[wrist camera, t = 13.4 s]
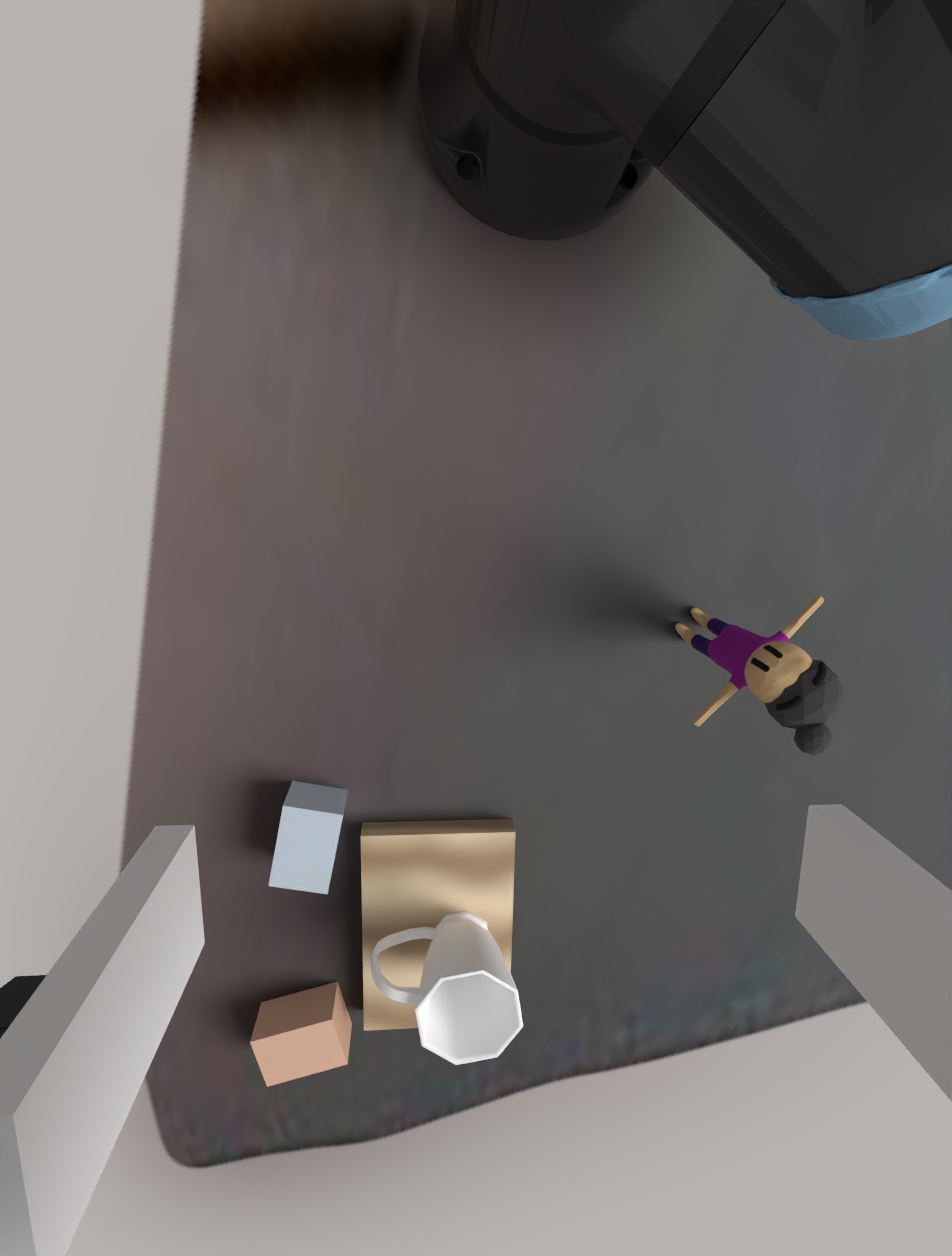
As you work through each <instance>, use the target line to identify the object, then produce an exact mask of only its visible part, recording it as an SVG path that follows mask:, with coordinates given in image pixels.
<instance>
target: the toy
mask: <svg viewBox="0 0 952 1256" xmlns="http://www.w3.org/2000/svg"><path fill="white" fill-rule="evenodd" d="M823 601H824V599H823V598H822V596H819V597H817V598H815V599H814V600H813V601H812V602H811V603H810V604H809V605H808V606H807V607H806V608H805V609H804V610H803V611H802V612H801V613H799V614H798V615H797V616H796V617H795V618H794V619H793V620H792V621H791V622H790V623H789V624H788V625H787V626H786V627H784V628H783V629H782V630H781V631H779V632H778V633H777V634H775V635H773V636H772V637H761V636H759V635H757V634H754V633H752V632H750V631H748V630H745V629H743V628H740V627H738V626H735V625H729V624H727V623H725V622H723V621H721V620H719V619H716V618H712V617H710V616H708V615H706V614H704V613H703V612H702V611H701V610H699V609H698V608H694V607H693V608H692V609H691V614H692V616H693V618H694V619H695V620H696V621H697V622H698V623H699V624H700V625H702V626H703V627H704V628H706V629H708V630H710V631H711V632H712V633H714V634H715V635H717V636H718V637H717V638H715V639H713V640H709V639H707V638H704V637H702V636H701V635H697V634H695V633H694V632H693V631H691V630H690V629H689V628H688V627H686V626H685V625H683V624H681V623H677V624H676V625H675V628H676V631H677V632H678V633H679V634H680V635H681V637H682V638H683V640H684V641H685V642H687V643H688V644H690V645H692V646H693V648H695V649H696V650H698V651H700V652H701V653H703V654H705V655H706V656H708V657H709V658H711V659H712V660H713V661H714V662H715V663H716V664H718V665H719V666H721V667H722V668H724V669H725V670H727V671H728V672H730V673H731V674H733V675H732V677H731V679H730V681H729V683H728V684H727V685H726V686H725V687H724V689H723V690H722V691H721V692H720V693H719V694H718V695H717V696H716V697H715V698H714V699H713V700H712V701H711V702H710V704H709V705H708V706H707V707H706V708H705V709H704V710H703V711H702V712H701V713H700V714H699V715H698V716H697V717H696V718H695V719H694V720H693V724H694V725H696V726H700V725H701V724H702V723H703V722H704V721H705V720H706V719H707V718H708V717H709V716H710V715H711V714H712V713H713V712H714V711H716V709H717V708H718V707H720V706H721V705H722V704H723V703H724V702H725V701H726V700H727V699H729V698H730V697H731V696H732V695H733V694H734V693H735V692H736V691H737V690H740V689H741V688H742V687H744V686H746V685H748V687H749V688H750V690H751V691H752V692H753V693H754V694H755V695H756V696H757V697H758V698H759V699H760V700H762V701H763V702H765V705H766V707H767V710H768V712H769V714H770V715H771V716H772V717H773V718H774V719H775V720H776V721H777V722H778V723H779V724H780V725H781V726H783V727H788V728H794V729H796V732H795V736H794V740H795V742H796V745H797V747H798V748H799V749H800V750H801V751H802V752H803V753H808V754H813V755H815V754H819V753H822V752H823V751H824V750H826V749H827V748H828V747H829V746H830V743H831V739H832V735H831V732H830V730H829V728H828V727H827V726H826V725H825V724H824V723H825V722H826V721H827V720H829V719H830V718H831V717H832V716H833V715H834V714H835V713H836V712H837V711H838V709H839V705H840V701H841V698H842V694H843V689H842V686H841V684H840V681H839V679H838V677H837V675H836V674H835V673H834V672H833V671H832V670H831V669H830V668H829V667H828V666H827V665H826V664H825V663H824V662H823V661H818V660H812V659H811V658H810V657H809V655H808V654H807V653H806V652H805V651H804V650H802V649H801V648H800V647H798V646H796V645H794V644H792V643H789V642H788V640H789V638H790V637H791V636H792V635H793V634H794V633H795V632H796V631H797V629H798V628H799V627H800V626H801V625H802V624H803V623H804V622H805V621H806V620H807V619H808V618H809V616H810V615H811V614H812V613H813V612H814V611H815V610H816V609H817V608H818V607H819V606H820V605H821V604H822V603H823Z"/></svg>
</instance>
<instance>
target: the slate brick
mask: <svg viewBox="0 0 952 1256" xmlns="http://www.w3.org/2000/svg"><path fill="white" fill-rule="evenodd" d="M347 793H348V790H346V789H340V788H334V787H328V786H322V785H316V784H310V783H303V782H297V781H292V783H291V786H290V789H289V791H288V794H287V796H286V799H285V802H284V804H283V808H282V814H281V819H280V825H279V830H278V836H277V842H276V847H275V853H274V858H273V864H272V870H271V875H270V881H269V886H272V887H279V888H286V889H293V890H300V891H307V892H314V893H321V894H328V889H329V884H330V879H331V874H332V869H333V864H334V859H335V854H336V849H337V844H338V839H339V834H340V829H341V824H342V819H343V814H344V808H345V803H346V798H347Z"/></svg>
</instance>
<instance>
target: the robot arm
mask: <svg viewBox="0 0 952 1256" xmlns="http://www.w3.org/2000/svg"><path fill="white" fill-rule="evenodd" d="M418 109H419V118H420V124H421V129H422V133H423V137H424V140H425V144H426V147H427V150H428V152H429V155H430V157H431V160H432V162H433V164H434V166H435V168H436V170H437V172H438V174H439V175H440V177H441V179H442V180H443V182H444V183H445V185H446V186H447V188H448V189H449V190H450V192H451V193H452V194H453V195H454V196H455V198H456V199H457V200H458V201H459V202H460V203H461V204H462V205H463V206H464V207H465V208H466V209H467V210H469V211H470V212H471V213H472V214H473V215H475V216H476V217H477V218H479V219H480V220H482V221H483V222H485V223H486V224H488V225H490V226H492V227H494V228H496V229H498V230H500V231H502V232H505V233H508V234H511V235H514V236H518V237H522V238H527V239H536V240H552V239H561V238H567V237H571V236H575V235H578V234H581V233H583V232H586V231H588V230H590V229H592V228H594V227H596V226H598V225H600V224H601V223H603V222H605V221H606V220H608V219H609V218H610V217H612V216H613V215H614V214H615V213H617V212H618V211H619V210H620V209H621V208H622V207H623V206H624V205H625V204H626V203H627V202H628V201H629V200H630V199H631V198H632V196H633V195H634V194H635V193H636V191H637V190H638V189H639V188H640V186H641V185H642V184H643V182H644V181H645V180H646V178H647V177H648V176H649V174H650V173H651V171H652V169H653V168H654V166H655V168H656V167H657V166H658V167H657V168H656V169H657V170H658V171H659V172H660V173H661V174H662V175H663V176H664V177H665V178H667V179H668V180H669V181H670V182H671V183H672V184H673V185H674V186H675V187H676V188H677V189H678V190H679V191H680V192H681V193H682V194H683V195H684V196H685V197H686V198H688V199H689V200H690V201H691V202H692V203H693V204H694V205H695V206H696V207H697V208H698V209H699V210H700V211H701V212H702V213H703V214H704V215H705V216H706V217H707V218H709V219H710V220H711V221H712V222H713V223H714V224H715V225H716V226H717V227H718V228H719V229H720V230H721V231H722V232H723V233H724V234H725V235H726V236H727V237H728V238H729V239H731V240H732V241H733V242H734V243H735V244H736V245H737V246H738V247H739V248H740V249H741V250H742V251H743V252H744V253H745V254H746V255H747V256H748V257H749V258H750V259H752V260H753V261H754V262H755V263H756V264H757V265H758V266H759V267H760V268H761V269H762V270H763V271H764V272H765V273H766V274H767V275H768V276H769V277H770V282H771V285H772V286H773V288H774V289H775V291H776V292H777V293H778V294H779V295H780V296H781V297H783V298H784V299H788V300H789V301H791V302H792V303H793V304H797V305H800V306H801V307H802V308H803V309H804V310H805V311H807V312H808V313H809V314H810V315H811V316H812V317H813V318H815V319H816V320H817V321H818V322H819V323H820V324H822V325H823V326H824V327H825V328H826V329H828V330H829V331H831V332H833V333H834V334H838V335H840V336H843V337H846V338H849V339H855V340H860V341H874V340H884V339H890V338H894V337H899V336H903V335H906V334H910V333H913V332H916V331H919V330H922V329H924V328H927V327H930V326H932V325H935V324H937V323H939V322H942V321H944V320H946V319H948V318H950V317H952V0H436V2H435V4H434V6H433V8H432V11H431V13H430V16H429V19H428V22H427V25H426V28H425V31H424V35H423V40H422V44H421V50H420V56H419V66H418ZM795 917H796V918H797V919H798V920H799V921H800V923H801V924H802V925H803V926H804V927H805V929H806V930H807V931H808V932H809V933H810V934H811V936H812V937H813V938H814V939H815V940H816V942H817V943H818V944H819V945H820V946H821V947H822V949H823V950H824V951H825V952H826V953H827V955H828V956H829V957H830V958H831V959H832V960H833V962H834V963H835V964H836V965H837V966H838V968H839V969H840V970H841V971H842V972H843V973H844V975H845V976H846V977H847V978H848V979H849V981H850V982H851V983H852V984H853V985H854V986H855V988H856V989H857V990H858V991H859V992H860V994H861V995H862V996H863V997H864V998H865V1000H866V1001H867V1002H868V1003H869V1004H870V1005H871V1006H872V1008H873V1009H874V1010H875V1011H876V1013H877V1014H878V1015H879V1016H880V1017H881V1018H882V1020H883V1021H884V1022H885V1023H886V1024H887V1026H888V1027H889V1028H890V1029H891V1030H892V1031H893V1033H894V1034H895V1035H896V1036H897V1037H898V1038H899V1040H900V1041H901V1042H902V1043H903V1044H904V1046H905V1047H906V1048H907V1049H908V1050H909V1051H910V1053H911V1054H912V1055H913V1056H914V1057H915V1059H916V1060H917V1061H918V1062H919V1063H920V1065H921V1066H922V1067H923V1068H924V1069H925V1070H926V1072H927V1073H928V1074H929V1075H930V1076H931V1078H932V1079H933V1080H934V1081H935V1082H936V1083H937V1085H938V1086H939V1087H940V1088H941V1089H942V1091H943V1092H944V1093H945V1094H946V1095H947V1096H948V1098H949V1099H950V1100H951V1101H952V891H951V890H950V889H949V888H947V887H946V886H945V885H944V884H942V883H941V882H940V881H939V880H937V879H936V878H935V877H933V876H932V875H931V874H930V873H928V872H927V871H926V870H925V869H923V868H922V867H921V866H920V865H918V864H917V863H916V862H914V861H913V860H912V859H911V858H909V857H908V856H907V855H906V854H904V853H903V852H902V851H901V850H899V849H898V848H897V847H895V846H894V845H893V844H892V843H890V842H889V841H888V840H887V839H885V838H884V837H883V836H882V835H880V834H879V833H878V832H876V831H875V830H874V829H873V828H871V827H870V826H869V825H868V824H866V823H865V822H864V821H863V820H861V819H860V818H859V817H857V816H856V815H855V814H854V813H852V812H851V811H850V810H849V809H847V808H846V807H845V806H844V805H842V804H838V805H809V809H808V817H807V825H806V833H805V841H804V849H803V857H802V865H801V874H800V882H799V890H798V898H797V906H796V914H795ZM204 943H205V941H204V929H203V918H202V906H201V895H200V883H199V872H198V861H197V849H196V838H195V826H194V825H173V826H155V828H154V829H153V830H152V832H151V833H150V835H149V836H148V837H147V839H146V840H145V841H144V843H143V844H142V845H141V847H140V848H139V850H138V851H137V852H136V854H135V855H134V856H133V858H132V859H131V861H130V862H129V863H128V865H127V866H126V867H125V869H124V870H123V871H122V873H121V874H120V876H119V877H118V878H117V880H116V881H115V882H114V884H113V885H112V887H111V888H110V889H109V891H108V892H107V894H106V895H105V896H104V898H103V899H102V900H101V902H100V903H99V904H98V906H97V907H96V909H95V910H94V911H93V913H92V914H91V915H90V917H89V918H88V919H87V921H86V922H85V924H84V925H83V926H82V928H81V929H80V930H79V932H78V933H77V934H76V936H75V937H74V939H73V940H72V941H71V943H70V944H69V946H68V947H67V948H66V950H65V951H64V952H63V954H62V955H61V957H60V958H59V959H58V961H57V962H56V963H55V965H54V966H53V968H52V969H51V970H50V972H49V973H48V974H47V975H40V976H19V977H15V978H13V979H12V980H11V981H9V982H8V983H7V984H5V985H4V986H3V987H1V988H0V1256H65V1254H66V1252H67V1250H68V1247H69V1245H70V1243H71V1241H72V1239H73V1236H74V1234H75V1232H76V1229H77V1227H78V1225H79V1223H80V1221H81V1219H82V1216H83V1214H84V1212H85V1210H86V1207H87V1205H88V1203H89V1201H90V1198H91V1196H92V1194H93V1192H94V1189H95V1187H96V1185H97V1182H98V1180H99V1178H100V1176H101V1173H102V1171H103V1169H104V1167H105V1165H106V1162H107V1160H108V1158H109V1156H110V1153H111V1151H112V1149H113V1147H114V1145H115V1142H116V1140H117V1138H118V1136H119V1134H120V1131H121V1129H122V1127H123V1125H124V1122H125V1120H126V1118H127V1116H128V1113H129V1111H130V1109H131V1107H132V1104H133V1102H134V1100H135V1098H136V1095H137V1093H138V1091H139V1089H140V1086H141V1084H142V1082H143V1080H144V1078H145V1075H146V1073H147V1071H148V1069H149V1066H150V1064H151V1062H152V1060H153V1057H154V1055H155V1053H156V1051H157V1049H158V1046H159V1044H160V1042H161V1040H162V1037H163V1035H164V1033H165V1031H166V1028H167V1026H168V1024H169V1022H170V1019H171V1017H172V1015H173V1013H174V1010H175V1008H176V1006H177V1004H178V1002H179V999H180V997H181V995H182V993H183V990H184V988H185V986H186V984H187V981H188V979H189V977H190V975H191V972H192V970H193V968H194V966H195V964H196V961H197V959H198V957H199V955H200V952H201V950H202V948H203V946H204Z"/></svg>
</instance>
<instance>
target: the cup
mask: <svg viewBox="0 0 952 1256" xmlns="http://www.w3.org/2000/svg"><path fill="white" fill-rule="evenodd" d="M422 938H426V939H432V940H433V941H432V942H431V944H430V947H429V950H428V952H427V955H426V958H425V961H424V966H423V972H422V977H421V983H420V987H414V988H413V987H397V986H395V985H393V984H391V983H390V982H389V981H388V980H387V979H386V977H385V976H384V975H383V974H382V973H381V971H380V968H379V964H378V959H377V956H378V954H379V953H380V952H381V951H383V950H385V949H387V948H389V947H391V946H394V945H397V944H400V943H403V942H406V941H410V940H415V939H422ZM370 961H371V973H372V977H373V980H374V983H375V986H376V987H377V988H378V989H379V990H380V991H381V992H382V993H383V994H384V995H385V996H386V997H388V998H390V999H392V1000H395V1001H398V1002H403V1003H407V1004H416V1007H415V1013H416V1018H417V1023H418V1028H419V1034H420V1039H421V1044H422V1046H423V1047H425V1048H426V1049H428V1050H430V1051H432V1052H434V1053H435V1054H437V1055H439V1056H441V1057H443V1058H444V1059H446V1060H448V1061H450V1062H452V1063H453V1064H455V1065H459V1064H464V1063H469V1062H475V1061H480V1060H485V1059H490V1058H495V1057H498V1056H499V1055H500V1054H501V1052H502V1051H503V1050H504V1049H505V1048H506V1046H507V1045H508V1044H509V1043H510V1042H511V1040H512V1039H513V1038H514V1037H515V1036H516V1034H517V1033H518V1032H519V1031H520V1030H521V1028H522V1027H523V1022H522V1016H521V1009H520V1003H519V996H518V990H517V988H516V985H515V983H514V981H513V978H512V976H511V974H510V972H509V969H508V967H507V965H506V962H505V960H504V957H503V955H502V952H501V950H500V948H499V946H498V944H497V943H496V941H495V939H494V938H493V936H492V935H491V933H490V932H489V931H488V928H487V922H486V921H484V920H483V919H481V918H479V917H478V916H476V915H474V914H473V913H471V912H470V911H464V912H458V913H453V914H448V915H445V916H444V917H443V919H442V920H441V921H440V923H439V924H438V925H437V926H436V928H433V927H418V928H411V929H408V930H404V931H401V932H397V933H394V934H391V935H388V936H387V937H385V938H383V939H382V940H380V941H378V943H377V944H376V946H375V948H374V950H373V953H372V957H371V960H370Z"/></svg>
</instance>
